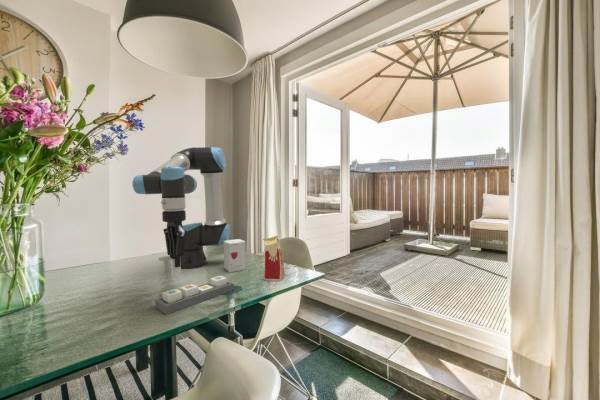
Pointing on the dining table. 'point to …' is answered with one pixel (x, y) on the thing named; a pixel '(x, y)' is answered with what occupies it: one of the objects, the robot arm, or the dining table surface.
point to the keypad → (192, 298)
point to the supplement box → (234, 255)
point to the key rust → (189, 290)
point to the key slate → (218, 281)
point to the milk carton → (273, 260)
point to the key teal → (172, 295)
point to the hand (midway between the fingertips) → (176, 275)
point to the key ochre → (205, 288)
